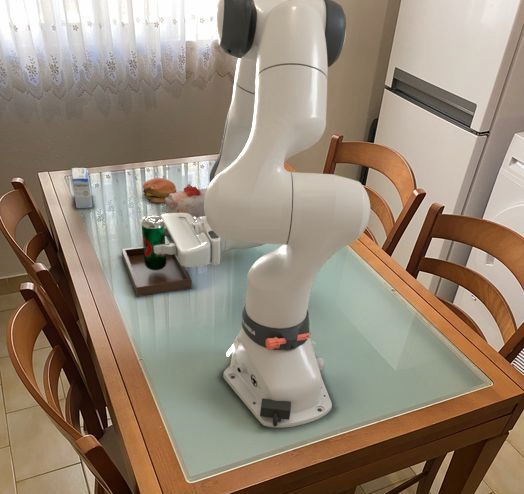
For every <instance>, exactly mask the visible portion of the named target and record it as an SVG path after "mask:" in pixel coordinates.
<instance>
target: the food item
mask: <svg viewBox="0 0 524 494" xmlns="http://www.w3.org/2000/svg"><path fill="white" fill-rule="evenodd" d="M207 188H208V187H206V188H197V187H196V186H192V185H191V183H188V184H187V185H186V186H185V187H183V190H180V191H176V192H175V193H171V194H169V197H168V198H167V197H166V199H165V214H166V213H188V214H190V215H191V216H193V217H197V218H198V217H202V216H205V212H204V198H205V194H206V191H207Z"/></svg>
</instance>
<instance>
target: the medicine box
mask: <svg viewBox="0 0 524 494" xmlns="http://www.w3.org/2000/svg"><path fill="white" fill-rule="evenodd" d="M70 171H71V181H72V182H71V183H72V189H73V195H74V202H75V208H76V209H91V208H93V201H92V193H91V186H90V178H89V172H88V168H87V167H73V168H71V169H70Z"/></svg>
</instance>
